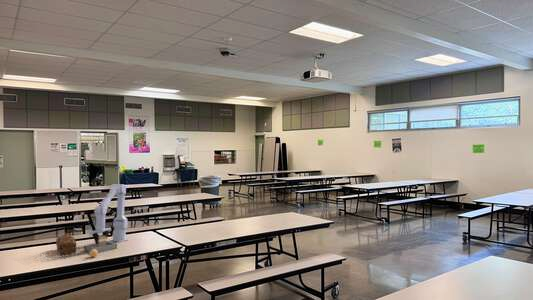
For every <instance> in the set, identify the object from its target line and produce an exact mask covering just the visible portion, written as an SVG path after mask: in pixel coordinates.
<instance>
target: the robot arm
mask: <svg viewBox="0 0 533 300" xmlns="http://www.w3.org/2000/svg"><path fill="white" fill-rule="evenodd" d="M126 194H127V186H126V185H125V184H123V183H122V184H117V183H115V184H114V183H112V184H111V185H110V187H109V192H108V193H107V196H106V198H103V199H102V201H101V202H100V204H99V205H98V206H96V207H95V208H94V211H93V212H94V216H95V218H96V219H95V230H90V231H89V235H90V236H92V237H93V239H94V242H95V243H96V244H98V237H99V236H100V233H102V235H105V236H106V240H107V239H108V236H109V234H110V232H111V231H112V228H111V227H106V214H107V213H108V208H109V207H110V205H111V203H112V202H111V200H112V199H113V198H114V196H115V195H116V196H117V199H116V200H117V201H116V203H117V204H116V206H117V207H116V217H115V218H113V223H112V227H113V228H114V229H113V231H112V240H111V242H115V243H121V242H125V241H128V238H126V235H127V234H126V229H128V227H129V221H128V218H127V217H126V216H125V203H126V202H125V201H126V200H125V199H126Z"/></svg>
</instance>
